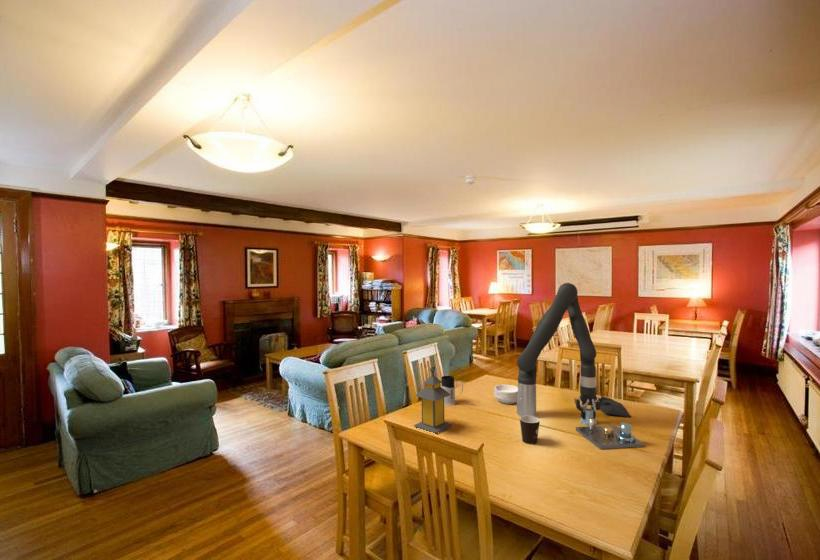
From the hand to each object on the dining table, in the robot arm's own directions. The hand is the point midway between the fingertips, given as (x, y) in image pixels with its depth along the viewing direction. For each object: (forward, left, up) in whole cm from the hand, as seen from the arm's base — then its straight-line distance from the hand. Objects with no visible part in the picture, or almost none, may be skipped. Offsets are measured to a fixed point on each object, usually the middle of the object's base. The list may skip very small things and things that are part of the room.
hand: (588, 418), depth 193 cm
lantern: (-78, +5, -2) cm, 78 cm away
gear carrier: (-1, -18, -2) cm, 18 cm away
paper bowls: (-29, +36, -2) cm, 46 cm away
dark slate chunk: (+22, +16, -3) cm, 27 cm away
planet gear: (0, 0, -2) cm, 2 cm away
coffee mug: (-36, -16, -2) cm, 39 cm away
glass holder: (-62, +36, -2) cm, 72 cm away
